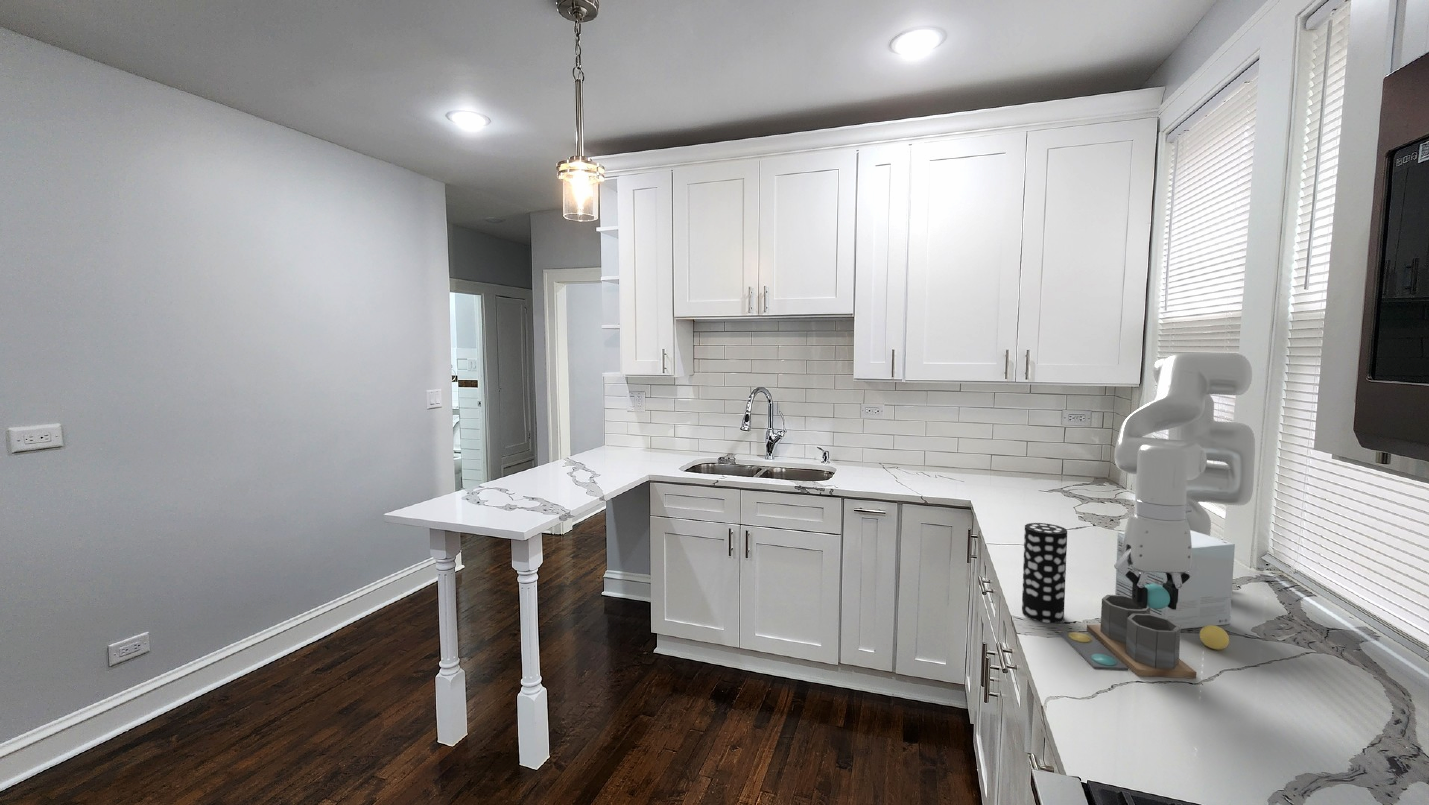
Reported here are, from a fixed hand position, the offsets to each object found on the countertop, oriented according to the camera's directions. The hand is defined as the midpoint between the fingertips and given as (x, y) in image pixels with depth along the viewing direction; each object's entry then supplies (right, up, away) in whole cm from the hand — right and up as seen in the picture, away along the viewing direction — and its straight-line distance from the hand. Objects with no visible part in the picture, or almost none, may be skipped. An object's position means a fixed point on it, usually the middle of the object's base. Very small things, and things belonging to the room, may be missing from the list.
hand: (1154, 605), depth 112 cm
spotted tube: (-9, -10, +23) cm, 26 cm away
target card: (-8, -11, +6) cm, 15 cm away
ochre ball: (+17, -11, +7) cm, 21 cm away
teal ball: (0, -1, 0) cm, 1 cm away
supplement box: (+20, -10, +22) cm, 31 cm away
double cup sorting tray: (+1, -11, +6) cm, 13 cm away
